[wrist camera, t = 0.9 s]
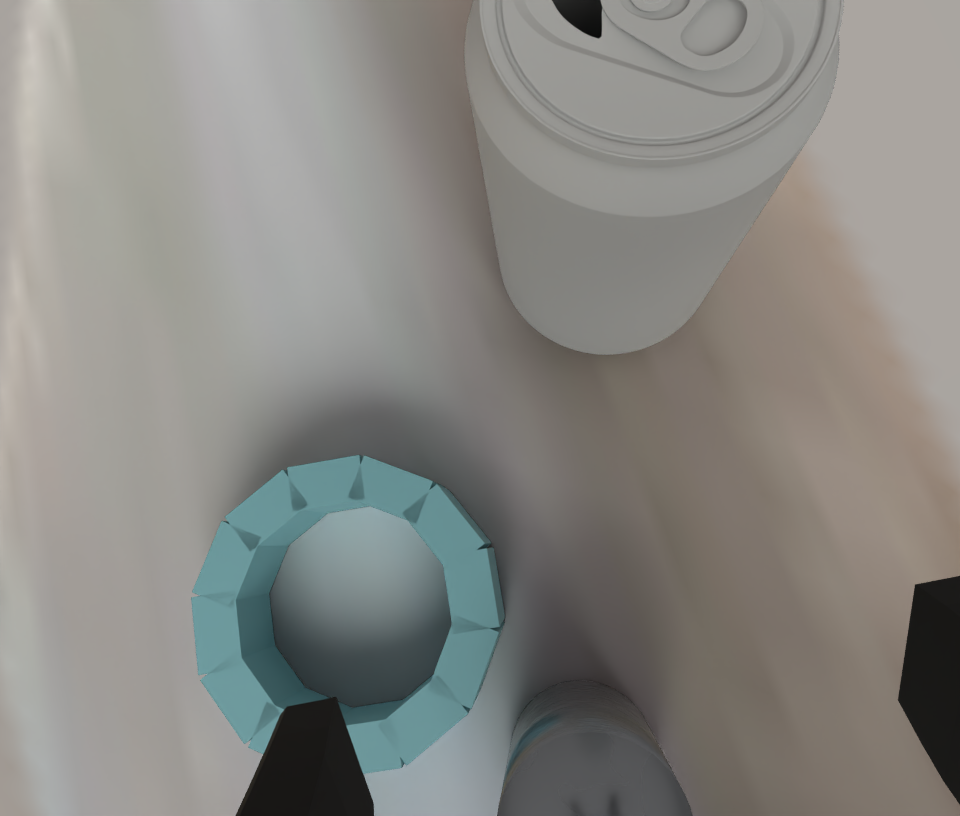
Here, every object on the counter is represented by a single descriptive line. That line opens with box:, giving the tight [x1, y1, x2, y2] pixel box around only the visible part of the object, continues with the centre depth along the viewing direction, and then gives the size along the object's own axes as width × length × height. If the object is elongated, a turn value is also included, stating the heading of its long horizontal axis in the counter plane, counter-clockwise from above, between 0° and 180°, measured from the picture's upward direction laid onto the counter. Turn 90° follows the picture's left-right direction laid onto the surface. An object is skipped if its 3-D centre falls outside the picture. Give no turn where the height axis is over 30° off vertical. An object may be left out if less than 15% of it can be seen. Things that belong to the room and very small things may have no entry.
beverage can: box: [464, 0, 844, 355], centre depth 18 cm, size 6×6×12 cm
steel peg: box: [497, 680, 692, 816], centre depth 19 cm, size 4×4×6 cm
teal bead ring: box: [191, 455, 505, 774], centre depth 21 cm, size 8×8×2 cm
